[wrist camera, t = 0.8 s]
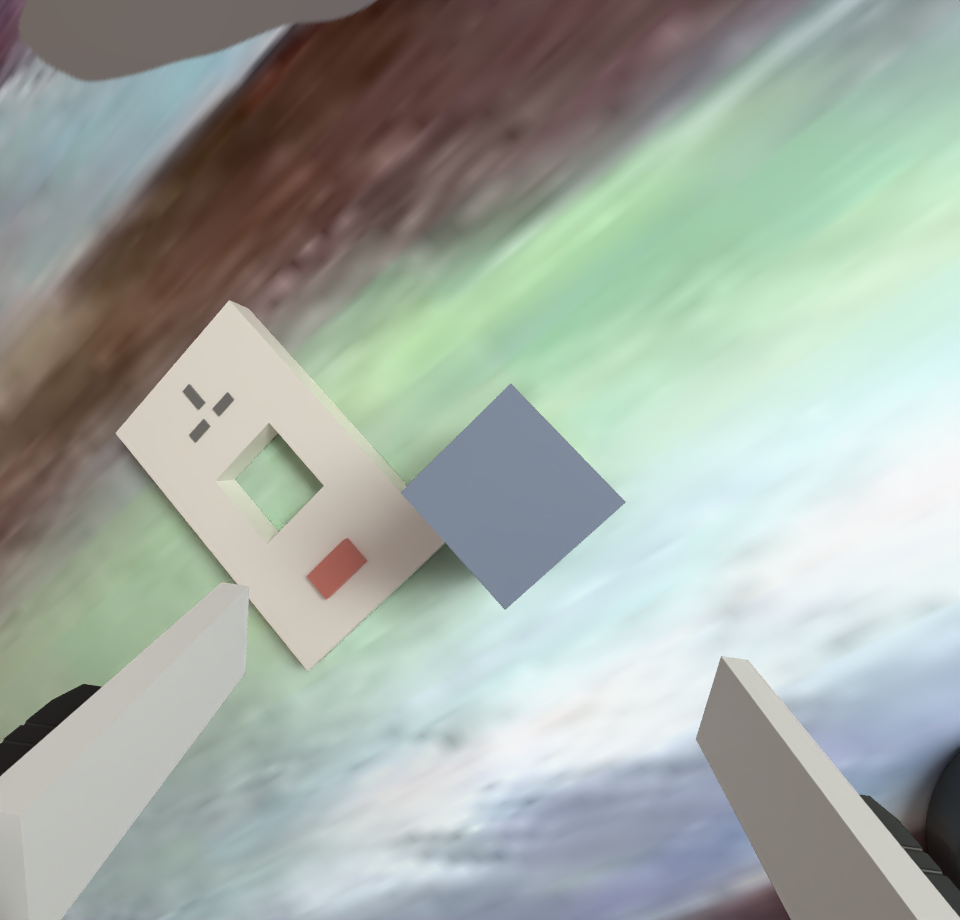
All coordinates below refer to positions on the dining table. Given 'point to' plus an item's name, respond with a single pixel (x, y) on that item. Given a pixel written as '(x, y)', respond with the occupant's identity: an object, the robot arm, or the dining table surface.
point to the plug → (511, 496)
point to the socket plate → (235, 517)
